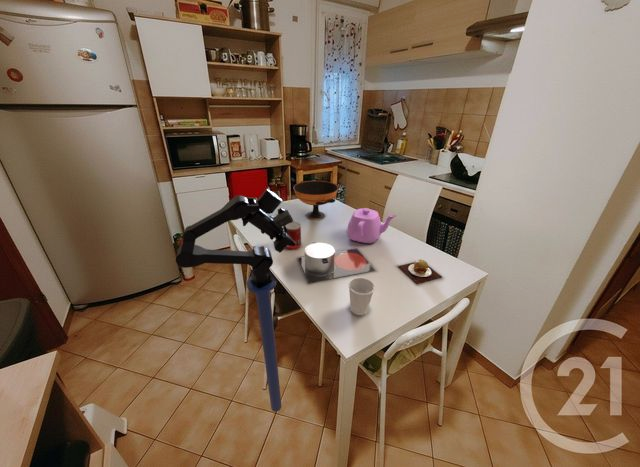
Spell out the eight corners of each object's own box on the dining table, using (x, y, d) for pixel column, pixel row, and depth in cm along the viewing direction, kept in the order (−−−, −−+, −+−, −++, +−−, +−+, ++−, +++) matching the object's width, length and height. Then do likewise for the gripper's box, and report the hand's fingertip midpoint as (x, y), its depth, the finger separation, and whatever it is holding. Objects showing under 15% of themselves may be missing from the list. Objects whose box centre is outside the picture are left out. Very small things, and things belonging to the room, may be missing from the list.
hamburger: (421, 261, 113) (424, 250, 111) (441, 277, 104) (444, 266, 101) (398, 266, 110) (400, 255, 107) (416, 284, 100) (419, 272, 97)
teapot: (340, 245, 125) (342, 216, 118) (352, 226, 143) (354, 200, 136) (389, 254, 118) (393, 224, 111) (394, 234, 136) (399, 207, 128)
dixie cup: (344, 300, 91) (346, 277, 87) (368, 299, 92) (371, 276, 87) (348, 319, 84) (350, 294, 79) (374, 317, 84) (378, 293, 80)
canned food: (300, 250, 121) (299, 228, 116) (283, 249, 121) (281, 228, 116) (301, 241, 128) (301, 221, 122) (285, 241, 128) (284, 221, 122)
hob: (309, 283, 100) (309, 282, 99) (298, 258, 115) (298, 257, 114) (375, 270, 107) (375, 270, 107) (356, 248, 122) (356, 248, 122)
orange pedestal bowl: (284, 208, 164) (283, 181, 156) (320, 202, 175) (320, 176, 166) (309, 232, 136) (309, 200, 128) (350, 223, 147) (352, 193, 138)
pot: (310, 280, 101) (310, 262, 97) (301, 259, 114) (300, 243, 110) (339, 274, 104) (340, 257, 100) (327, 254, 117) (327, 239, 113)
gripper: (283, 215, 83) (316, 241, 91) (274, 196, 99) (303, 219, 107) (260, 240, 85) (295, 263, 93) (255, 218, 101) (285, 239, 109)
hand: (295, 244), depth 100 cm, fingers closed
